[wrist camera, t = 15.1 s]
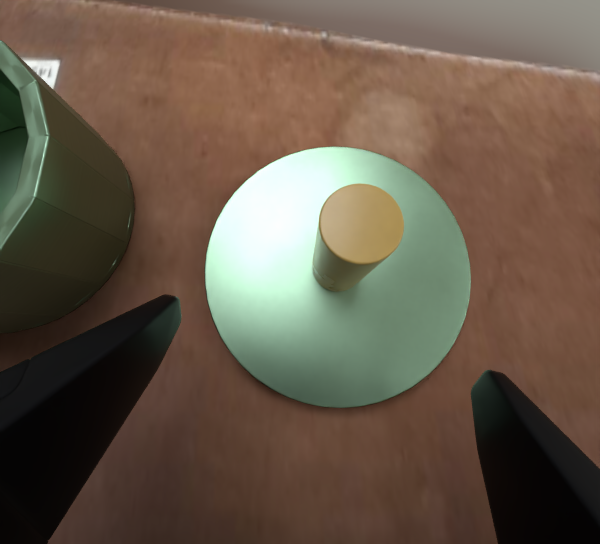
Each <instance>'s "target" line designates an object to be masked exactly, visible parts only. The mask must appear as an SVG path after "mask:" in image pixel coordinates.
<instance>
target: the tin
mask: <svg viewBox="0 0 600 544" xmlns="http://www.w3.org/2000/svg"><path fill="white" fill-rule="evenodd" d="M134 211H135V209H134V195H133V189H132V184H131V181H130V178H129V175H128V173H127V170H126V169H125V167H124V165H123V163H122V160H121V159H120V158H119V157H118V155H117V154H116V153H115V151H114V150H113V149H112V148H111V147H110V146H109V145H108V144H107V143H106V142H105V141H104V140H103V138H102V137H101V136H100V135H99V134H98V133H97V132H96V131H95V130H94V129H93V128H92V127H91V126H90V125H89V124H88V123H87V122H86V121H85V120H84V119H83V118H82V117H81V116H80V115H79V114H78V113H77V112H76V111H75V110H74V109H73V108H72V107H70V106H69V105H68V104H67V103H66V102H65V101H64V100H63V99H62V98H61V97H60V96H59V95H58V94H57V93H56V92H55V91H54V90H53V89H52V88H51V87H50V86H49V85H48V84H47V83H46V82H45V81H44V80H43V79H42V78H41V77H39V76H38V75H37V74H36V73H35V72H34V71H33V70H32V69H31V68H30V67H29V66H28V65H27V64H26V63H25V62H24V61H23V60H22V59H21V58H20V57H19V56H18V55H17V54H16V53H15V52H14V51H13V50H12V49H11V48H10V47H8V46H7V45H6V44H5V43H4V42H3V41H1V40H0V333H12V332H17V331H20V330H26V329H31V328H34V327H38V326H41V325H45V324H47V323H49V322H52V321H54V320H57V319H59V318H61V317H63V316H64V315H66V314H68V313H70V312H72V311H73V310H75V309H76V308H78V307H79V306H80V305H82V304H83V303H85V302H86V301H87V300H88V299H89V298H91V297H92V296H93V295H94V294H95V293H96V292H97V291H98V290H99V289H100V288H101V287H102V286H103V285H104V283H105V282H106V281H107V280H108V279H109V278H110V276H111V275H112V273H113V272H114V270H115V269H116V267H117V266H118V264H119V262H120V260H121V258H122V256H123V254H124V253H125V250H126V248H127V245H128V242H129V239H130V236H131V232H132V227H133V222H134Z"/></svg>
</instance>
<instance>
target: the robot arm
mask: <svg viewBox="0 0 600 544" xmlns="http://www.w3.org/2000/svg"><path fill="white" fill-rule="evenodd" d="M180 322H181V308H180V300H179V298H178V297H175V296H171V295H162V296H160V297H158V298H156V299H153V300H151V301H149V302H147V303H145V304H143V305H141V306H139V307H137V308H135V309H132V310H130V311H128V312H126V313H124V314H122V315H120V316H118V317H116V318H114V319H111V320H109V321H107V322H105V323H103V324H101V325H99V326H97V327H95V328H92V329H90V330H88V331H86V332H84V333H82V334H80V335H78V336H76V337H74V338H71V339H69V340H67V341H65V342H63V343H61V344H59V345H57V346H55V347H53V348H50V349H48V350H46V351H44V352H42V353H40V354H38V355H36V356H34V357H32V358H31V360H30V359H27V360H25V361H23V362H21V363H19V364H17V365H14V366H12V367H10V368H8V369H6V370H4V371H1V372H0V544H47V543H48V540H49V539H50V538H51V536H52V535H53V533H54V531H55V530H56V528H57V527H58V525H59V524H60V522H61V520H62V519H63V517H64V516H65V514H66V513H67V511H68V509H69V508H70V506H71V505H72V503H73V502H74V500H75V498H76V497H77V495H78V494H79V492H80V491H81V489H82V487H83V486H84V484H85V483H86V481H87V480H88V478H89V476H90V475H91V473H92V472H93V470H94V469H95V467H96V466H97V464H98V462H99V461H100V459H101V458H102V456H103V455H104V453H105V451H106V450H107V448H108V447H109V445H110V444H111V442H112V440H113V439H114V437H115V436H116V434H117V433H118V431H119V429H120V428H121V426H122V425H123V423H124V422H125V420H126V418H127V417H128V415H129V414H130V412H131V411H132V409H133V407H134V406H135V404H136V403H137V401H138V400H139V398H140V396H141V395H142V393H143V392H144V390H145V389H146V387H147V386H148V384H149V382H150V381H151V379H152V378H153V376H154V374H155V373H156V371H157V369H158V368H159V366H160V364H161V362H162V360H163V358H164V356H165V354H166V352H167V350H168V348H169V346H170V344H171V341H172V339H173V337H174V335H175V333H176V331H177V329H178V327H179V325H180ZM471 399H472V408H473V417H474V426H475V435H476V443H477V449H478V455H479V459H480V464H481V468H482V473H483V478H484V482H485V487H486V491H487V496H488V500H489V505H490V509H491V514H492V518H493V523H494V527H495V532H496V536H497V541H498V544H600V469H599V468H598V467H597V466H596V465H595V464H594V463H593V462H592V461H591V460H590V459H589V458H588V457H587V456H586V455H585V454H584V453H583V452H582V451H581V450H580V449H579V448H578V447H577V446H576V445H575V444H574V443H573V442H572V441H571V440H570V439H569V438H568V437H567V436H566V435H565V434H564V433H563V432H562V431H561V430H560V429H559V428H558V427H557V426H556V425H555V424H554V423H553V422H552V421H551V420H550V419H549V418H548V417H547V416H546V415H545V414H544V413H543V412H542V411H541V410H540V409H539V408H538V407H537V406H536V405H535V404H534V403H533V402H532V401H531V400H530V399H529V398H528V397H527V396H526V395H525V394H524V393H523V392H522V391H521V390H520V389H519V388H518V387H517V386H516V385H515V384H514V383H513V382H512V381H511V380H510V379H509V378H508V377H507V376H506V375H505V374H503V373H500V372H496V371H492V370H487V371H485V372H484V373H483V374H482V375H481V377H480V378H479V379H478V380H477V382H476V383H475V384H474V385H473V387H472V390H471Z"/></svg>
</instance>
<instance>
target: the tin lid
mask: <svg viewBox="0 0 600 544" xmlns="http://www.w3.org/2000/svg"><path fill="white" fill-rule="evenodd" d="M470 286H471V275H470V262H469V257H468V252H467V247H466V244H465V241H464V238H463V235H462V232H461V230H460V228H459V225H458V223H457V221H456V219H455V217H454V215H453V214H452V212H451V211H450V209H449V207H448V206H447V204H446V203H445V202H444V200H443V199H442V198H441V197H440V196H439V194H438V193H437V192H436V191H435V190H434V189H433V188H432V187H431V186H430V185H429V184H428V183H427V182H426V181H425V180H424V179H423V178H421V177H420V176H419V175H417V174H416V173H415V172H413V171H412V170H411V169H409V168H407V167H406V166H404V165H402V164H400V163H399V162H397V161H395V160H393V159H390V158H388V157H385V156H383V155H381V154H377V153H374V152H370V151H367V150H363V149H356V148H350V147H320V148H313V149H308V150H303V151H299V152H296V153H293V154H290V155H287V156H284V157H282V158H280V159H278V160H276V161H274V162H271V163H270V164H268V165H267V166H265V167H263V168H262V169H260V170H259V171H257V172H256V173H255V174H254V175H252V176H251V177H250V178H249V179H247V180H246V181H245V182H244V183H243V184H242V185H241V186H240V187H239V188H238V189H237V190H236V191H235V193H234V194H233V195H232V197H231V198H230V199H229V201H228V202H227V203H226V205H225V206H224V208H223V210H222V212H221V213H220V215H219V217H218V219H217V221H216V223H215V226H214V228H213V231H212V233H211V236H210V240H209V244H208V248H207V253H206V261H205V289H206V295H207V302H208V305H209V309H210V312H211V316H212V319H213V321H214V324H215V326H216V328H217V330H218V333H219V335H220V337H221V338H222V340H223V342H224V343H225V345H226V346H227V348H228V350H229V351H230V352H231V354H232V355H233V356H234V357H235V358H236V360H237V361H238V362H239V363H240V364H241V366H243V367H244V368H245V369H246V370H247V371H248V372H249V373H250V374H251V375H252V376H253V377H254V378H256V379H257V380H259V381H260V382H262V383H263V384H264V385H266V386H267V387H269V388H270V389H272V390H274V391H276V392H278V393H280V394H282V395H284V396H286V397H288V398H291V399H294V400H297V401H300V402H303V403H306V404H311V405H316V406H321V407H334V408H348V407H360V406H365V405H369V404H374V403H378V402H381V401H384V400H387V399H389V398H392V397H394V396H397V395H399V394H401V393H402V392H404V391H406V390H408V389H410V388H411V387H413V386H414V385H416V384H417V383H418V382H420V381H421V380H422V379H424V378H425V377H426V376H428V375H429V374H430V373H431V372H432V371H433V370H434V369H435V368H436V367H437V366H438V365H439V364H440V362H441V361H442V360H443V358H444V357H445V356H446V354H447V353H448V352H449V350H450V349H451V347H452V345H453V344H454V342H455V340H456V338H457V336H458V334H459V333H460V330H461V327H462V325H463V322H464V319H465V317H466V312H467V308H468V303H469V298H470Z"/></svg>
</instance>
